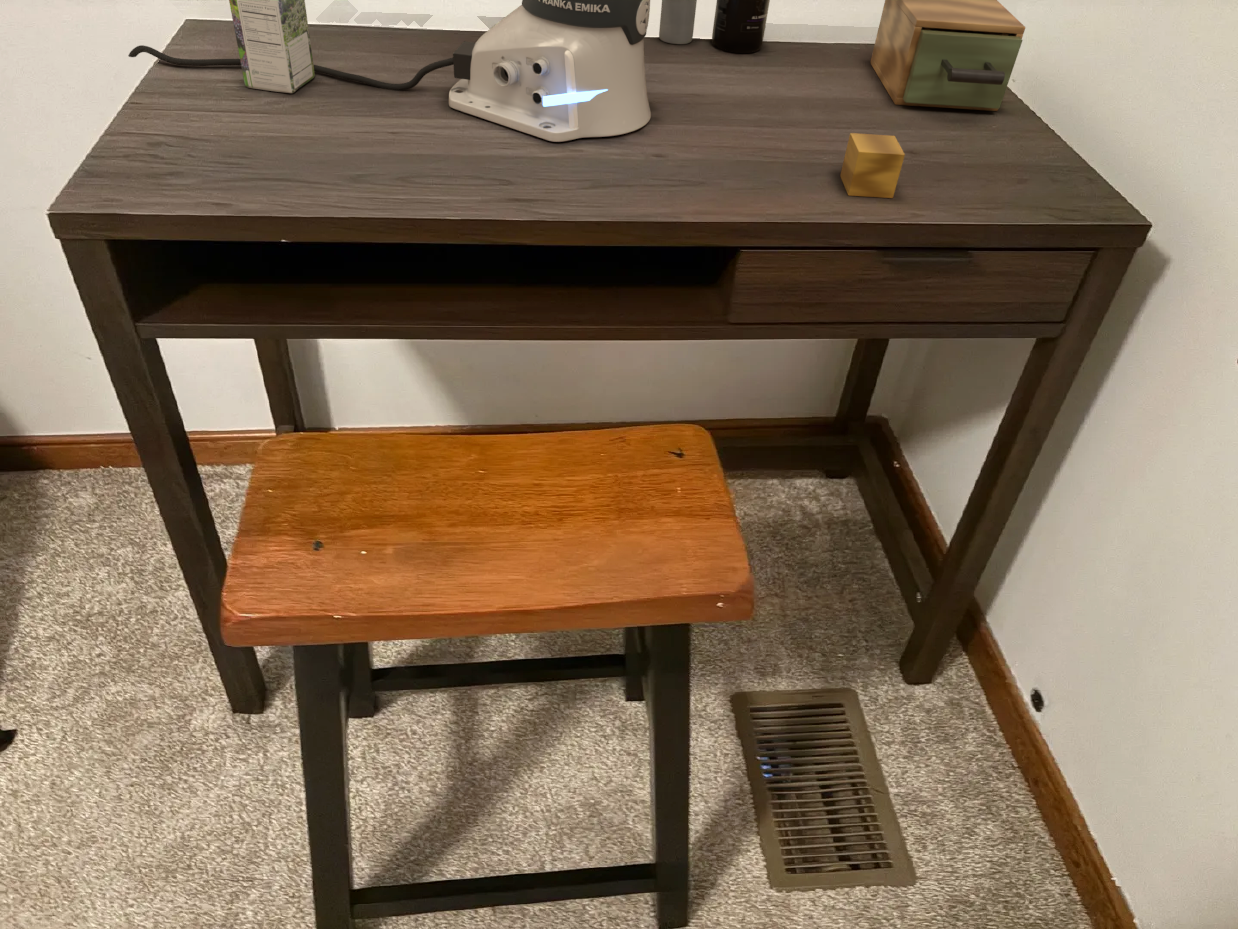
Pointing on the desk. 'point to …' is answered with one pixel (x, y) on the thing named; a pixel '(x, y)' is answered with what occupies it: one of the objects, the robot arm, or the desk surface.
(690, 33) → the planter
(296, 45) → the syrup box
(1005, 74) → the drawer
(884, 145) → the block
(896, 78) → the cabinet
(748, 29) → the supplement bottle
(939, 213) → the desk surface
